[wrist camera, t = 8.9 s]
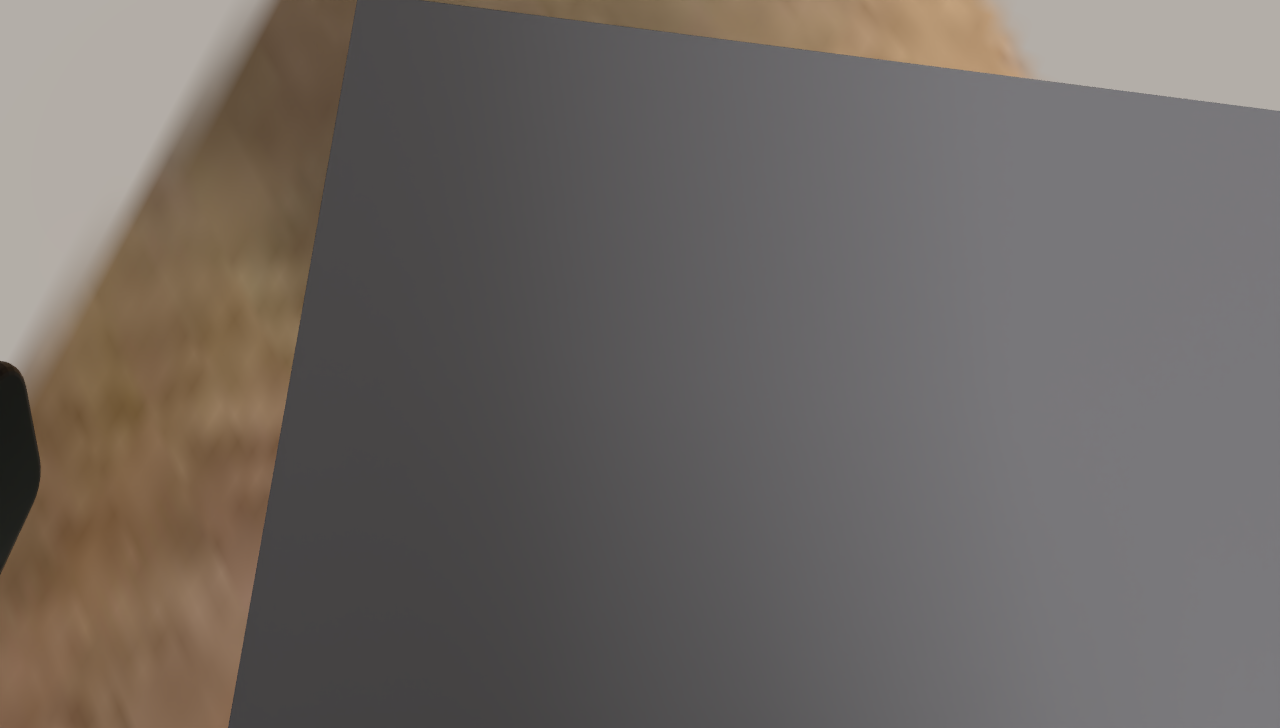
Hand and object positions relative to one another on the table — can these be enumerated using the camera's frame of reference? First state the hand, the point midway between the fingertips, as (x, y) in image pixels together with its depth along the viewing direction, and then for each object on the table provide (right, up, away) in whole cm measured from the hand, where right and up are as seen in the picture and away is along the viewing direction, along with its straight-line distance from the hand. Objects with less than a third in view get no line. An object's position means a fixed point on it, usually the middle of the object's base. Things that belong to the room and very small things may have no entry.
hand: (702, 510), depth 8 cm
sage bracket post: (-1, -2, +9) cm, 9 cm away
